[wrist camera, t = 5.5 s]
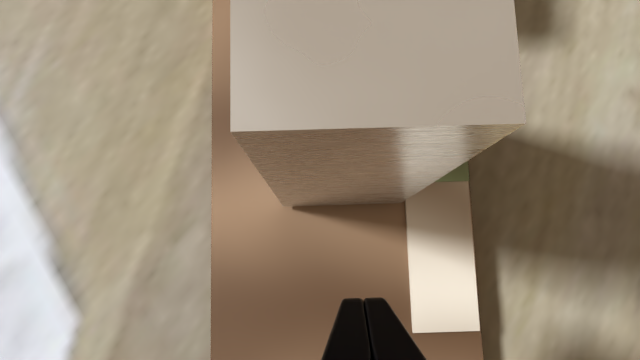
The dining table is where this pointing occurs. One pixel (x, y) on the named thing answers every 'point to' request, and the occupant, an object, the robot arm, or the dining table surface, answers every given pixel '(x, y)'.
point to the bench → (330, 254)
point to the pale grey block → (370, 93)
